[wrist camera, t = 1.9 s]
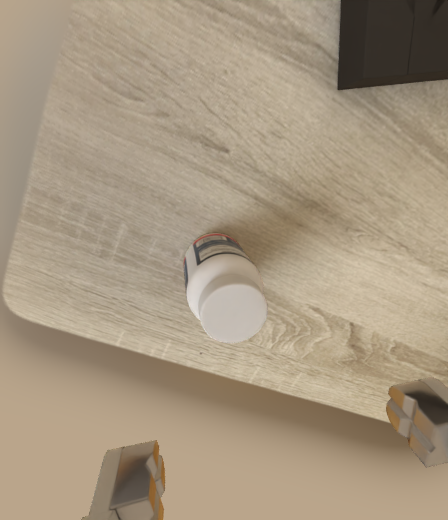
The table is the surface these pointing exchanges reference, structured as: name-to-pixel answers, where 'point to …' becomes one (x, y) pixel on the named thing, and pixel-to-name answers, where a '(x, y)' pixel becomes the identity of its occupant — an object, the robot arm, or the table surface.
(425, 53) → the socket pad
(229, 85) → the table surface
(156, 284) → the table surface
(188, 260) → the pill bottle
